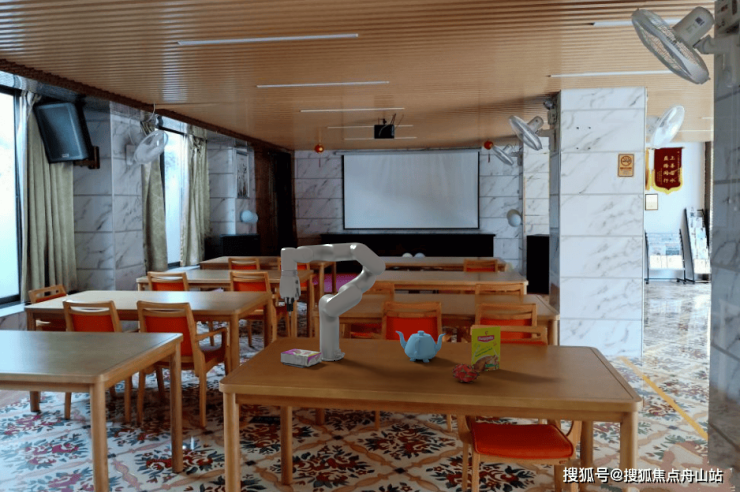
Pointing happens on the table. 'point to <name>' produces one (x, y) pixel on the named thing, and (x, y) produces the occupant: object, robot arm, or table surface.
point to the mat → (294, 365)
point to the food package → (485, 349)
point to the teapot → (420, 346)
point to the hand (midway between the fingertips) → (289, 311)
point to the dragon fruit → (465, 373)
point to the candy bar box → (301, 357)
